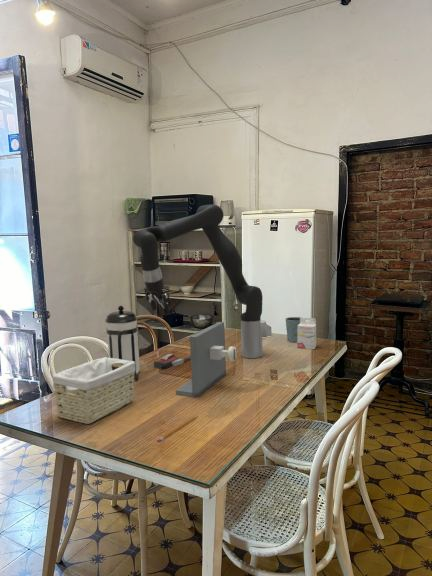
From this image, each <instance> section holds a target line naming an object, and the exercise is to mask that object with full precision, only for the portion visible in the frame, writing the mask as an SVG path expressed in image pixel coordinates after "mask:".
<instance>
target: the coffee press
mask: <svg viewBox="0 0 432 576" xmlns="http://www.w3.org/2000/svg"><path fill="white" fill-rule="evenodd" d="M124 309H125V308H124V306H123V305H118V307H117V310H118V311H113V312H110V313H109V314H107V316H106V318H105V320H104V321H105V323H106V330H105V331H106V335H107V336H106V337H107V350H108V358H114V359H122V360H128V361H134V362H135V374H134V382H136V381H138V380H139V376H138V374H139V373H140V372H141V371H140V359H139V357H140V356H139V337H138V331H139V328H138V320H139V319H138V318H139V317H138V315H137V314H136V313H135V312H133V311H129V310H124ZM117 368H119V367H114V366H112V371H113V370H115V369H117Z"/></svg>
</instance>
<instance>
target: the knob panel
mask: <svg viewBox="0 0 432 576" xmlns="http://www.w3.org/2000/svg"><path fill="white" fill-rule="evenodd" d="M225 328H226V327H225V322H224V321H218V322H215V323H214V324H212V325H210V326H208V327H206V328H204V329H201V330H200V331H198V332H196V333H195V334H192V335H190V336H189V346H190V356H191V358H190V366H191V367H190V368H191V369H190V370H191V379H190V380H189V381H187V382H186V383H185V384H183V385H181V386H180V387H178V389H176V390H175V394H176V395H177V396H185V397H191V398H192V397H193V398H200V397H201V396H202V395H204V393H206V392H207V391H208V390H210V389H211V388H212V387H213V386H214V385H215V384H217V383H218V382H219V381H220V380H222V379H223V378H224V377H226V376H227V364H226V362H227V361H226V358H227V357H221V355H220V351H221V350H226V332H225V331H226V330H225Z"/></svg>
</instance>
